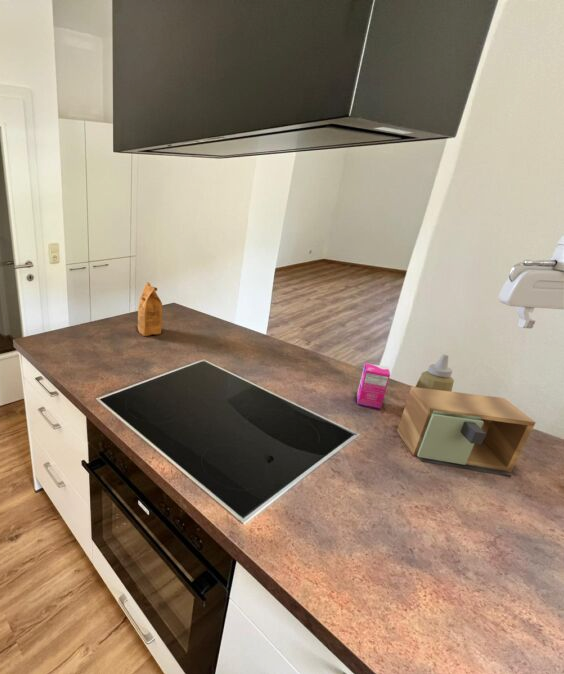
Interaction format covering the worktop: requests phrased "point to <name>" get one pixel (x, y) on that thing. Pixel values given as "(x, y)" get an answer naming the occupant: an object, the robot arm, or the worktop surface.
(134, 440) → the worktop surface
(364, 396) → the supplement box
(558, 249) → the robot arm
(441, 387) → the squeeze bottle
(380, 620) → the worktop surface
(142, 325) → the coffee package
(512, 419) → the cabinet
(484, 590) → the worktop surface
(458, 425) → the sliding door
